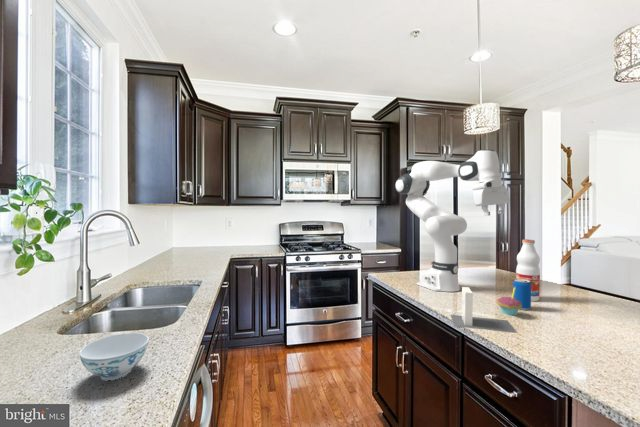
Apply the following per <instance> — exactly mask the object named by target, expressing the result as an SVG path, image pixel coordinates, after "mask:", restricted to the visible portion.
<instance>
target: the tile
mask: <svg viewBox="0 0 640 427" xmlns="http://www.w3.org/2000/svg"><path fill="white" fill-rule="evenodd" d="M473 299H474V293H473V291H472V290H471V289H470V287H469V286H461V316H462V319H463V322H464V324H465V325H468V326H472V317H473V313H474V312H473V305H474V304H473V303H474V301H473Z"/></svg>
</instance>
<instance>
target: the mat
mask: <svg viewBox="0 0 640 427" xmlns="http://www.w3.org/2000/svg"><path fill="white" fill-rule="evenodd" d="M450 318H451V321H452V323H453V327H458V328H468V329H475V330H476V329H477V330H487V331H494V332H495V331H497V332H505V333H514V334H518V331H517V330H516V329H515V328H514V326H513V325H512V324H511V322H509V321H508V320H507V319H499V318H498V319H497V318H487V317H477V316H472V326H468V325H465V324H464V322H463V319H462V315H456V314H450Z"/></svg>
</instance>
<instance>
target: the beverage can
mask: <svg viewBox="0 0 640 427" xmlns="http://www.w3.org/2000/svg"><path fill="white" fill-rule="evenodd" d="M515 286H516V287H515ZM514 288H516V289H515V294H514V298H515V299H517V300H519V301H520V302H521V303H522V307H521V308H520V309H519V310H522V311H528V310H529V309H531V307H532V301H531V283H530V281H529V280H525V279H516V278H515V279H514V280H513V282H512V290H513V289H514Z"/></svg>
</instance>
